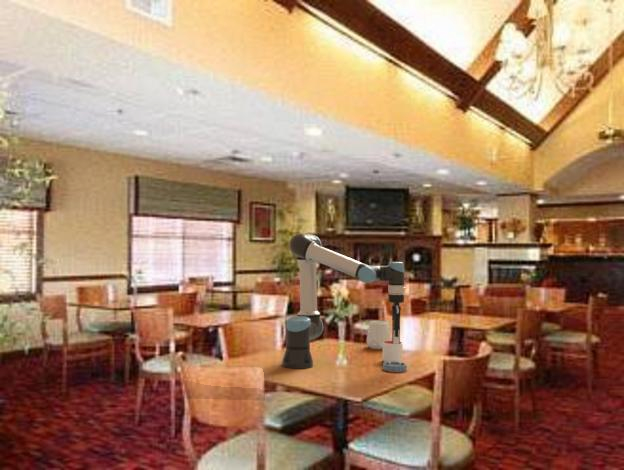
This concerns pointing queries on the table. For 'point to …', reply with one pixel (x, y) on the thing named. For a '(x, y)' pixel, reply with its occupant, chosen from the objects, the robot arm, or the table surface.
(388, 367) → the blue bowl
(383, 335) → the vase
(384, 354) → the cup
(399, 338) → the wooden rectangular block
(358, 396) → the table surface
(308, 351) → the robot arm
